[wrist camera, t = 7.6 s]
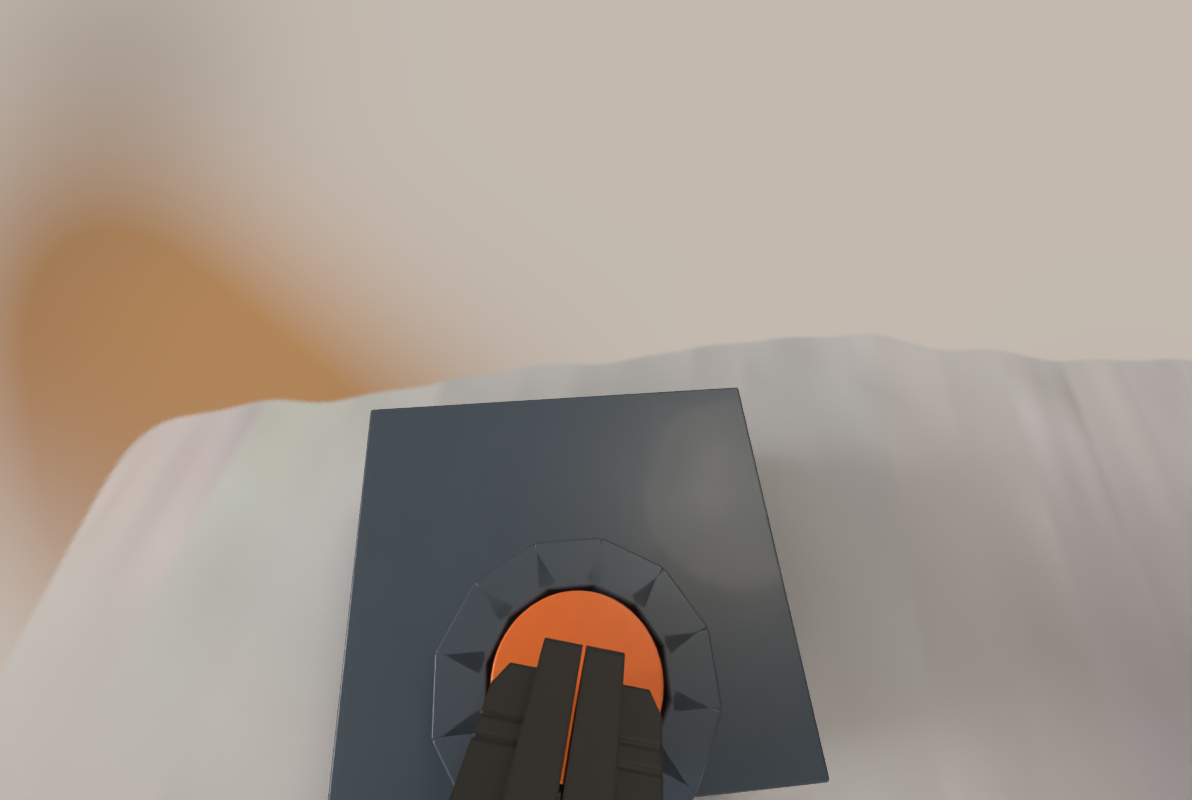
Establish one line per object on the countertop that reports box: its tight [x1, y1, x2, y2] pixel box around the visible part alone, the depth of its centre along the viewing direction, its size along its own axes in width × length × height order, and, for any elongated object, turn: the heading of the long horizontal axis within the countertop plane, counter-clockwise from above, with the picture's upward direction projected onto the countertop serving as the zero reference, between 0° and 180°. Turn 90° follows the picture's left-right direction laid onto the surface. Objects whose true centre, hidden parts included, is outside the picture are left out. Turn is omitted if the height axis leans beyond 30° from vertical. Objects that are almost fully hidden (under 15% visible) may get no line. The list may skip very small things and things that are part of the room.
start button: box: [490, 590, 664, 784], centre depth 12 cm, size 4×4×2 cm
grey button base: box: [328, 388, 829, 800], centre depth 17 cm, size 12×12×8 cm
